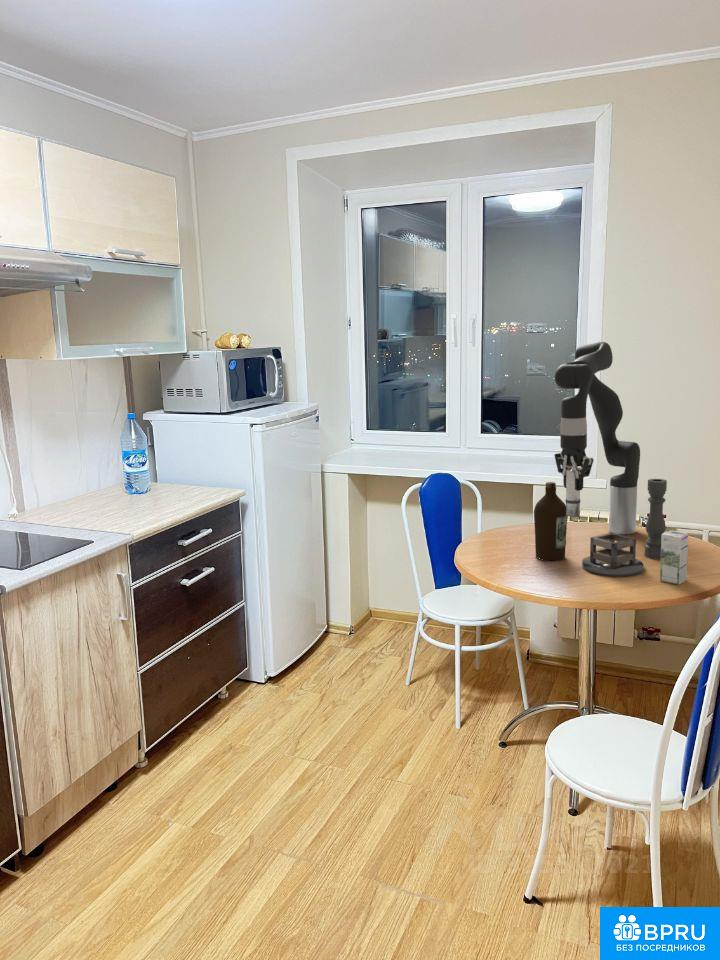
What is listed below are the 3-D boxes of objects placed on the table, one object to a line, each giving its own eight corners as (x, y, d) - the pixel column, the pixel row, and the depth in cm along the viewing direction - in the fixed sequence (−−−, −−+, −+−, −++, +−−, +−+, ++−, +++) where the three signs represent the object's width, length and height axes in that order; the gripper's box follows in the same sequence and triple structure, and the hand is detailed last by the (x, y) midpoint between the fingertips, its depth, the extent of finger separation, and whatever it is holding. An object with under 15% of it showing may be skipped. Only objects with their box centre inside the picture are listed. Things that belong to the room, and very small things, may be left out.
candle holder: (666, 558, 229) (669, 482, 224) (646, 558, 230) (648, 482, 225) (662, 553, 235) (665, 478, 230) (642, 552, 236) (645, 478, 231)
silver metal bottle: (563, 513, 219) (564, 468, 216) (578, 513, 219) (578, 468, 216) (567, 517, 215) (567, 471, 212) (582, 516, 215) (582, 471, 212)
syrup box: (687, 580, 209) (689, 532, 206) (678, 585, 205) (680, 536, 202) (667, 576, 213) (669, 529, 210) (659, 581, 209) (660, 533, 206)
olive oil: (527, 558, 236) (527, 484, 231) (543, 550, 243) (543, 478, 239) (557, 563, 229) (558, 487, 224) (572, 555, 236) (573, 481, 232)
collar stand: (569, 565, 226) (570, 536, 225) (609, 555, 235) (610, 527, 233) (615, 580, 211) (615, 550, 209) (656, 569, 220) (657, 539, 218)
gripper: (547, 431, 216) (547, 487, 220) (582, 436, 204) (582, 494, 207) (565, 428, 220) (565, 483, 223) (601, 433, 207) (600, 490, 211)
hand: (573, 488), depth 215 cm, fingers closed on silver metal bottle, 4 cm apart
